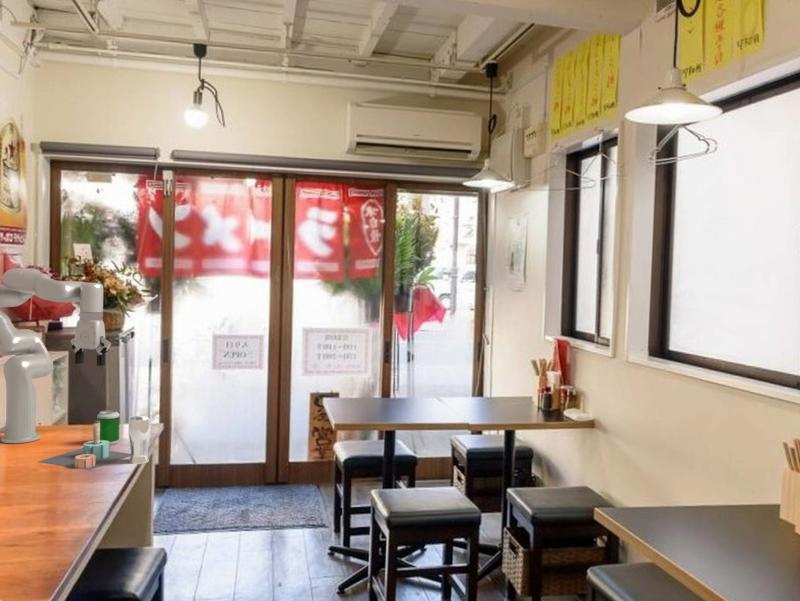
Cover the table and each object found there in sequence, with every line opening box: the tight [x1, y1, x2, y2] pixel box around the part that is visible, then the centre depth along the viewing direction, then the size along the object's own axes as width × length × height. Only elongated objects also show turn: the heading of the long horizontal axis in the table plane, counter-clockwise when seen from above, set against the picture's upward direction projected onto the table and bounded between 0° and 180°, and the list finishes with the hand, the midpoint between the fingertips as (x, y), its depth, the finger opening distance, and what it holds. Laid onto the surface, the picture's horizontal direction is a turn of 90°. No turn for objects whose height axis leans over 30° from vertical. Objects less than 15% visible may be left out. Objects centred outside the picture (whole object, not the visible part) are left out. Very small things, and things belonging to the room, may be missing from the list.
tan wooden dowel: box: [92, 420, 100, 444], centre depth 219 cm, size 2×2×12 cm
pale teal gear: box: [82, 440, 111, 459], centre depth 219 cm, size 8×8×4 cm
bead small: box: [75, 454, 96, 469], centre depth 208 cm, size 6×6×3 cm
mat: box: [37, 447, 131, 471], centre depth 217 cm, size 22×20×1 cm
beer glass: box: [128, 415, 152, 465], centre depth 215 cm, size 7×7×15 cm
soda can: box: [96, 409, 121, 446], centre depth 236 cm, size 8×8×12 cm
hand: (90, 364), depth 231 cm, fingers open, 9 cm apart
